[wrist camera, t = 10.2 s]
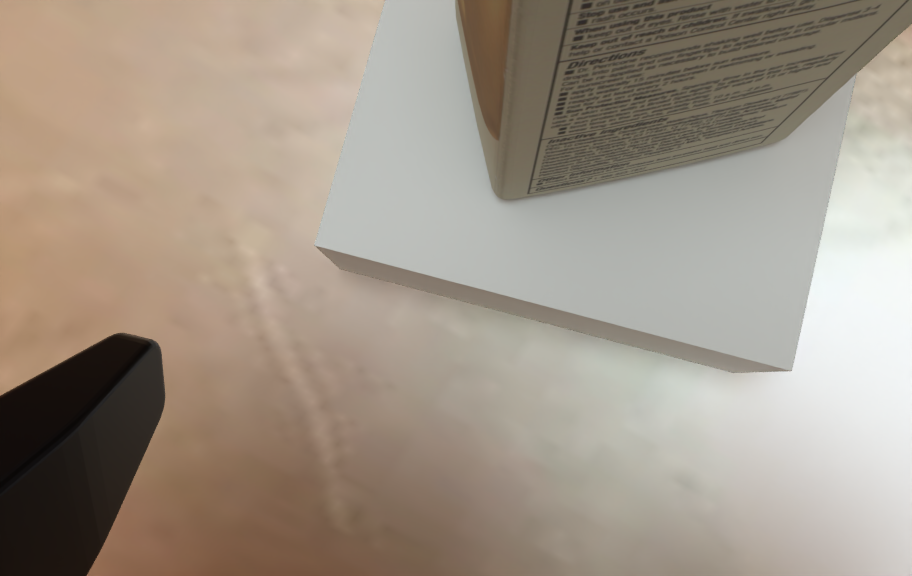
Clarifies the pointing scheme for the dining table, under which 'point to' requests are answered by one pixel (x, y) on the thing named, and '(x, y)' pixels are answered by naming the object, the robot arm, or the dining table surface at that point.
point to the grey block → (577, 217)
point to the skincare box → (653, 79)
